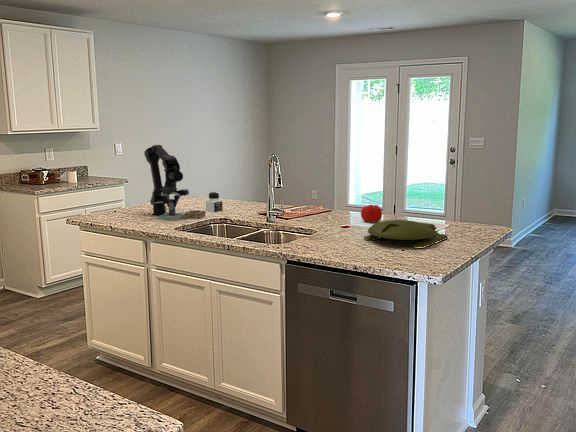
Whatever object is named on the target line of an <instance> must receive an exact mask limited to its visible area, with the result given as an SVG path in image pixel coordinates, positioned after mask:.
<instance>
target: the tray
mask: <svg viewBox="0 0 576 432" xmlns="http://www.w3.org/2000/svg"><path fill="white" fill-rule="evenodd" d="M185 213H186V212H185ZM185 213H184V212H175V216H169V212H166V213H164V214H162V215H157V219H158V220H172V221H180V220H182V219H183V218H185Z"/></svg>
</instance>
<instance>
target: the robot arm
mask: <svg viewBox="0 0 576 432" xmlns="http://www.w3.org/2000/svg"><path fill="white" fill-rule="evenodd" d="M144 157H145V160H146V161H147V163H148V164H149V166H150V172H151V178H152V183H153V191H152V192H151V194H152V196H151V198H150V201H149V202H150V205H151V206H152V210H153V213H152V214H151V215H152V216H160V215H162V214H164V213H167V208H169V204H168V199H170V195H173V199H174V207H175V208H177V205H178V203H179V200H180V197H183V196H184V197H185V196H188V195H189V194H190V191H189V189H188V188H187V189H185V188H182V189H179V190H178V188H177V183H178V182H179V183H180V182H181V181H183V178H184V175H183V173H182V172H181V168H180V167H181V166H180V163H179V161H178V159H177V158H176V157H175V156H174V155H171V154H169V153H168V152H167V151H166V150H165V149H164V148H163V146H162V145H161V144H153V145H152V146H151V147H148V148H146V149H145V150H144ZM160 160H161V164H162V166H163V168H164V169H163V171H164V173H165V174H164V175H165V181H164V186H163V184H162V183H163V182H162V176H161V171H160V165H159V161H160Z"/></svg>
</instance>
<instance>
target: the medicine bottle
mask: <svg viewBox="0 0 576 432" xmlns="http://www.w3.org/2000/svg"><path fill="white" fill-rule="evenodd" d="M223 210H224V209H223V200H222V199H220V193H219V192H216V191H214V192H213V191H212V192H209V193H208V199H207V200H206V201H205V212H212V213H217V212H223Z"/></svg>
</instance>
